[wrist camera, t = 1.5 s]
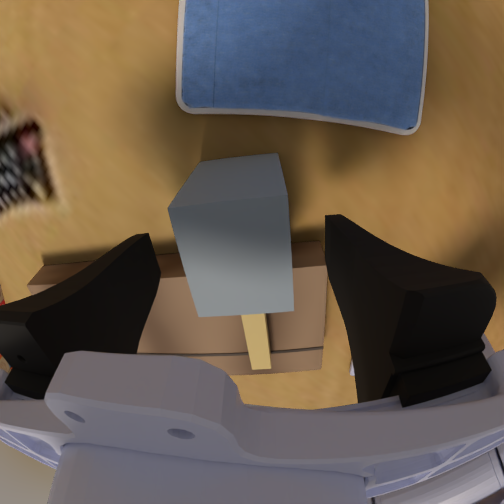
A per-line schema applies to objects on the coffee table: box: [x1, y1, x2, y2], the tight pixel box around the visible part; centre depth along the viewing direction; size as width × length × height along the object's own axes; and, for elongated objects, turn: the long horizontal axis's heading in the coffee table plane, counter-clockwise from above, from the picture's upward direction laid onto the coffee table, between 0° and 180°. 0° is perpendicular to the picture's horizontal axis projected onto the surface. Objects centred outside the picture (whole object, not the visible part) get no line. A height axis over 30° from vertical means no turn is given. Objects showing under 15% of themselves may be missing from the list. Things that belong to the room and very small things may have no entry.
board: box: [27, 241, 327, 375], centre depth 19 cm, size 20×9×3 cm, turn 97°
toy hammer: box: [168, 153, 294, 370], centre depth 15 cm, size 4×12×6 cm, turn 7°
